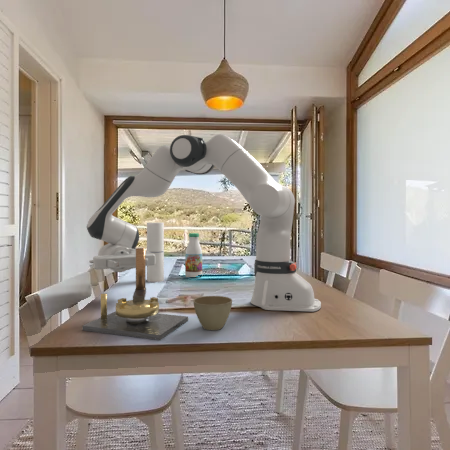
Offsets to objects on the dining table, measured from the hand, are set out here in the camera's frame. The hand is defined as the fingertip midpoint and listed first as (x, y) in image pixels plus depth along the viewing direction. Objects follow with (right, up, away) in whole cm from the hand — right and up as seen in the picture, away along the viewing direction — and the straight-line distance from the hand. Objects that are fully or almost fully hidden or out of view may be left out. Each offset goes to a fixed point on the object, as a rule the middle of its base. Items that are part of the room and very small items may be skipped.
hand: (131, 263), depth 115 cm
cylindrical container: (-1, -12, +43) cm, 44 cm away
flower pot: (+26, -14, -21) cm, 36 cm away
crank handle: (+6, -10, -15) cm, 19 cm away
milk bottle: (+15, -12, +52) cm, 56 cm away
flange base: (+7, -14, -20) cm, 25 cm away
